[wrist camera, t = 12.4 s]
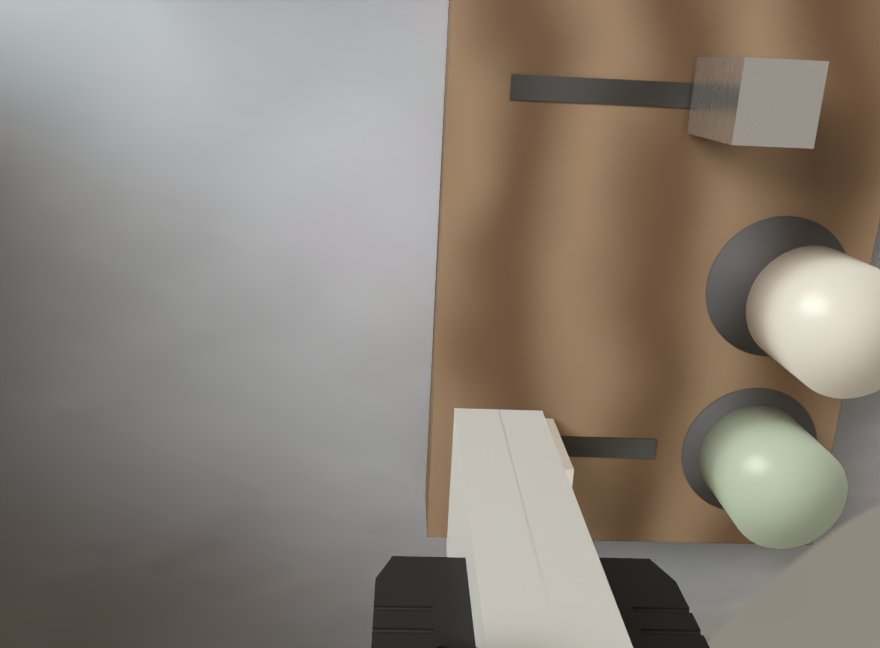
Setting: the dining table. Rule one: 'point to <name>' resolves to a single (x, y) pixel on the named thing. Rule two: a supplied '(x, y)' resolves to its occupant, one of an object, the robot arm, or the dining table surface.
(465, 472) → the robot arm
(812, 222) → the console
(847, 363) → the button ivory
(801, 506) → the button sage
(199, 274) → the dining table surface
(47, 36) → the dining table surface
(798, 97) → the slider aluminium
